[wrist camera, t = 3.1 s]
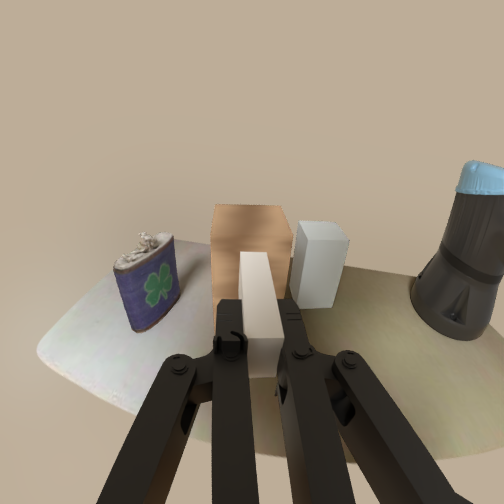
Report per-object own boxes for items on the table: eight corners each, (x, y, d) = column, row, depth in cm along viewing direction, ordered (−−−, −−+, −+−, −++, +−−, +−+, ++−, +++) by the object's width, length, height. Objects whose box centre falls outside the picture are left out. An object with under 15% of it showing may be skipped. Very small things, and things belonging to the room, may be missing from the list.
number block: (322, 284, 40) (335, 221, 35) (332, 307, 35) (349, 240, 30) (288, 284, 39) (298, 219, 34) (295, 309, 35) (307, 239, 30)
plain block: (270, 299, 36) (280, 205, 30) (277, 338, 30) (293, 235, 24) (217, 299, 36) (215, 204, 29) (215, 339, 30) (210, 234, 23)
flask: (169, 287, 37) (160, 215, 32) (187, 294, 36) (180, 220, 31) (126, 328, 30) (103, 250, 24) (144, 338, 29) (123, 258, 23)
